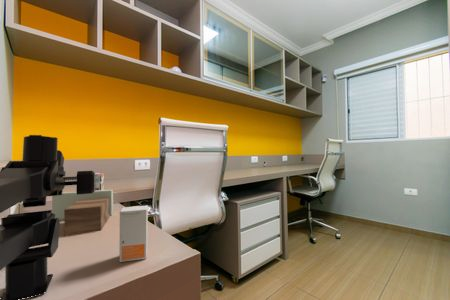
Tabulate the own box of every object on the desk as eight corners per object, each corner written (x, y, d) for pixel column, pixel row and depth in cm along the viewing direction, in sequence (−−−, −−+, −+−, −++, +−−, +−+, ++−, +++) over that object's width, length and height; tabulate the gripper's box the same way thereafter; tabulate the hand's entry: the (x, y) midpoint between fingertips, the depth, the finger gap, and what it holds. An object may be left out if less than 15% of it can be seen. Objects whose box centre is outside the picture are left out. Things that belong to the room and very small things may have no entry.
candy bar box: (101, 213, 88) (101, 174, 88) (87, 215, 86) (87, 175, 86) (104, 207, 98) (104, 171, 98) (91, 208, 96) (91, 172, 96)
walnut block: (100, 231, 69) (100, 206, 69) (64, 235, 66) (64, 209, 66) (109, 218, 82) (109, 197, 82) (79, 221, 79) (79, 199, 79)
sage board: (111, 215, 85) (111, 190, 85) (52, 220, 79) (52, 194, 79) (113, 213, 88) (112, 189, 88) (56, 218, 82) (55, 192, 82)
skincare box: (119, 263, 49) (118, 211, 49) (122, 254, 53) (122, 206, 53) (147, 259, 50) (146, 209, 50) (148, 251, 55) (147, 204, 55)
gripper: (91, 149, 53) (97, 157, 67) (-11, 149, 45) (19, 158, 59) (91, 193, 52) (97, 192, 66) (-16, 202, 44) (17, 199, 57)
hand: (60, 185), depth 62 cm, fingers open, 9 cm apart
